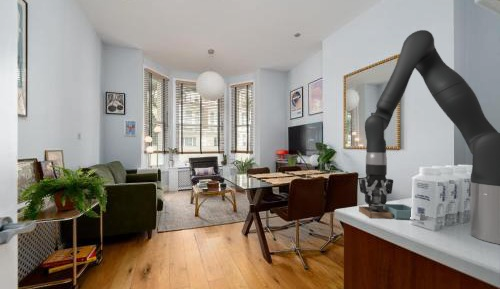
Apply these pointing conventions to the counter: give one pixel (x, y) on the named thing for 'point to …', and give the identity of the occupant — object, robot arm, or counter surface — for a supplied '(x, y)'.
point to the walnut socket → (376, 213)
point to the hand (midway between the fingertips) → (375, 203)
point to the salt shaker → (376, 201)
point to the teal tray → (399, 211)
